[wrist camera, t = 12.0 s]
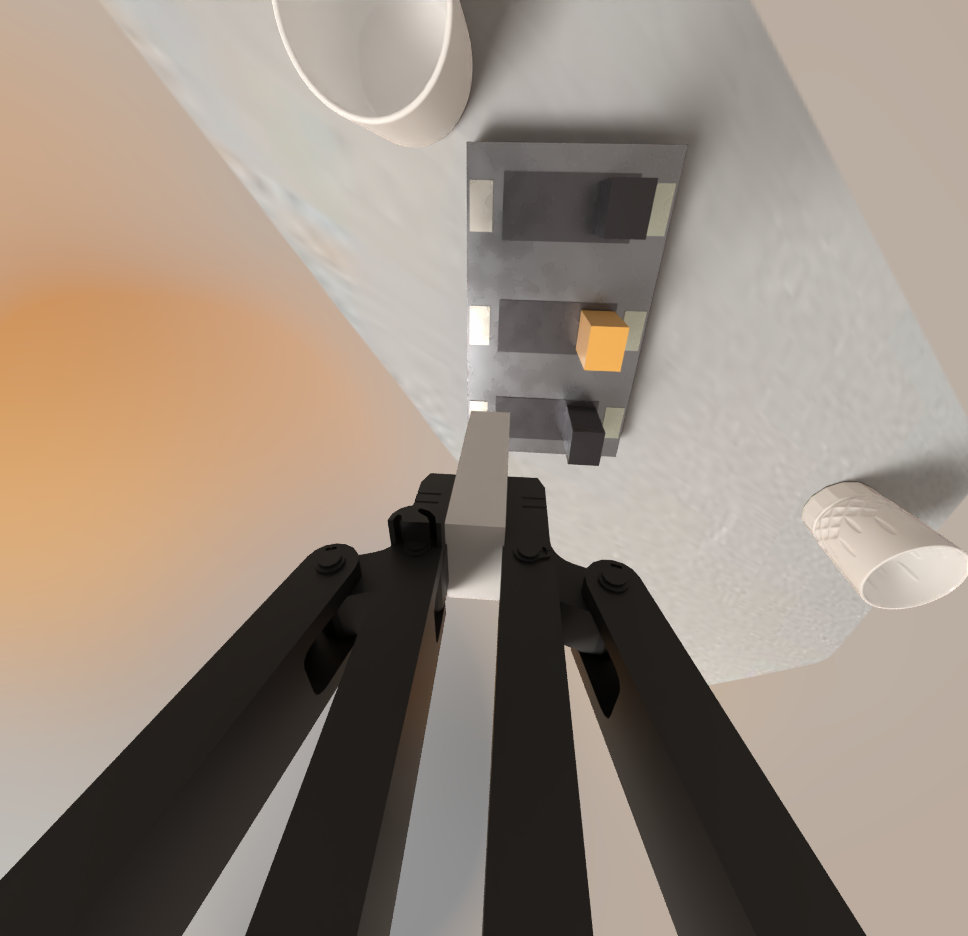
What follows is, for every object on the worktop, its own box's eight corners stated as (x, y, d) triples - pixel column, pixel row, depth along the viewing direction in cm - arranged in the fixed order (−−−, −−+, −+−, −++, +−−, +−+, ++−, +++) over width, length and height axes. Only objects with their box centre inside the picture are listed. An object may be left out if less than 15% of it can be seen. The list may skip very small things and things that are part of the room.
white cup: (784, 534, 45) (844, 609, 37) (810, 476, 41) (885, 545, 32) (860, 534, 44) (940, 610, 36) (894, 475, 40) (994, 546, 32)
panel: (471, 147, 28) (456, 128, 22) (672, 150, 28) (721, 131, 21) (470, 434, 41) (461, 478, 34) (609, 441, 40) (627, 487, 34)
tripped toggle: (581, 310, 31) (591, 325, 26) (614, 311, 31) (629, 327, 26) (575, 349, 32) (584, 370, 28) (607, 350, 32) (620, 371, 28)
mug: (280, -22, 25) (152, -145, 16) (378, -154, 22) (287, -393, 13) (404, 177, 30) (358, 164, 21) (498, 91, 27) (489, 35, 18)
